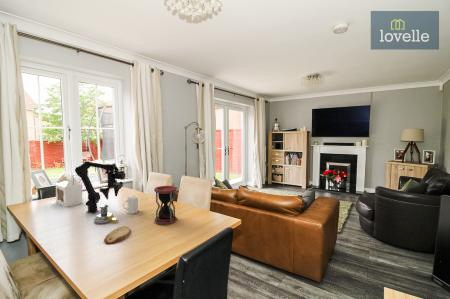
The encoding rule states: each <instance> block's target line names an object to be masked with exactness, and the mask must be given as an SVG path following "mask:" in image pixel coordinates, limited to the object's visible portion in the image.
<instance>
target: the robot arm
mask: <svg viewBox="0 0 450 299" xmlns="http://www.w3.org/2000/svg"><path fill="white" fill-rule="evenodd" d="M91 167H92V168H97V169H103V170H104V171H105V172H104V174H106V175H107V180H106V183H107V185H106V186H103V187H100V188H99V191H95V188H94V185H93V184H92V182H91V180H90V177H89V169H90V168H91ZM74 172H75V174H76V175H77V176H78V177H79V178H81V181H82V183H83V185H84V187H85V191H86V192H87V201H86V202H85V207H87V211H85V212H86V213H89V214H93V213H96V212H99V209H98V203H99V201H100V200H101V195H100V193H102V195H103V196H104V198H105V199H106V200H108V201H109V193H110V190H111V189H113V192H114V196H115V197H117V196H118V194H119V191H120V190H121V189H122V188H123V185H124V183H123V181H119V182H118V181H117V180H125V179H126V173H125V170H120V169H119V168H118V167H117V165H116V163H114V162H111V163H110V162H108V163H103V162H97V161H92V160H87V161H85V162H84V163H83V164H81V165H78V166H76V167H75V169H74Z"/></svg>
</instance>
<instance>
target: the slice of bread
mask: <svg viewBox="0 0 450 299" xmlns="http://www.w3.org/2000/svg"><path fill="white" fill-rule="evenodd" d="M131 231H132V230H131V228H130V227H129V226H125V225H122V226H118V227H117V228H115V229H113V230H111V231H110V232H109V233H107V234H106V235H105V237H104V239H103V242H104V243H105V244H106V245H114V244H117V243H120V242H122V241H124V240H126V239H127V238H128V237H130V234H131Z"/></svg>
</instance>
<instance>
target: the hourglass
mask: <svg viewBox="0 0 450 299" xmlns="http://www.w3.org/2000/svg"><path fill="white" fill-rule="evenodd" d="M177 190H178V188H177V186H174V185H160V186H156V187H154V192H155V202H156V205H157V209H156V210H155V218H154V224H155V225H157V226H168V225H172V224H175V223H176V222H177V221H178V219H177V216H176V206H175V204H174V201H175V199H176V191H177ZM158 199H159V201H160V202H161V203H159V201H158ZM171 206H172V207H173V209H172V208H171ZM176 220H177V221H176Z"/></svg>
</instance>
